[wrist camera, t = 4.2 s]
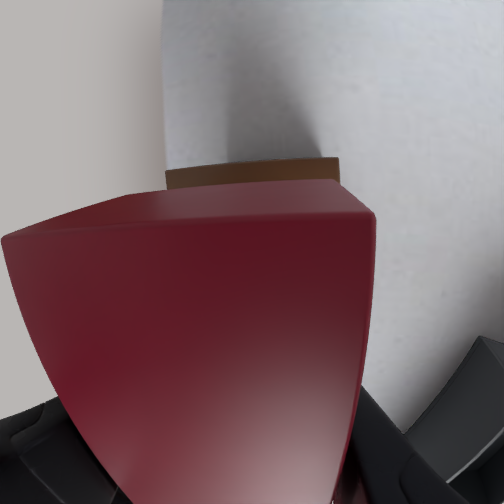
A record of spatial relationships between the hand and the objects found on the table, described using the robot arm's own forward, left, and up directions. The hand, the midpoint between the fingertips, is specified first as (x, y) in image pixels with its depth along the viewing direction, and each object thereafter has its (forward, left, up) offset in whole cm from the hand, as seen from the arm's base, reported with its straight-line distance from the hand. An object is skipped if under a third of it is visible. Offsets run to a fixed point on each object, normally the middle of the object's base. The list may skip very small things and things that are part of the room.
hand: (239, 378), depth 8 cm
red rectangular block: (0, 0, 0) cm, 0 cm away
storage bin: (-3, -30, -13) cm, 33 cm away
